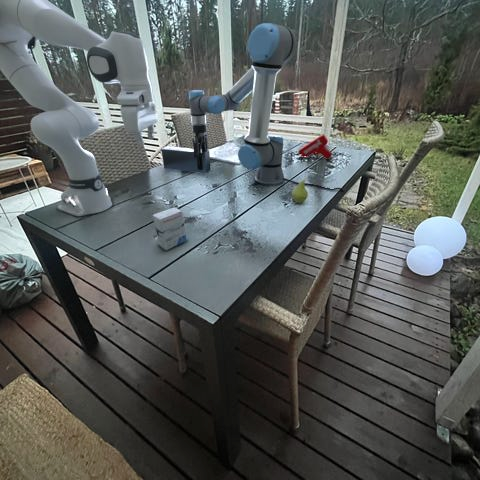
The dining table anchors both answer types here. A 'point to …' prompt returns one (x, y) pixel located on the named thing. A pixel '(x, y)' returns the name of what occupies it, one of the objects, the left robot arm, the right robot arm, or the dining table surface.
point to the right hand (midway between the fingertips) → (202, 167)
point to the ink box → (170, 228)
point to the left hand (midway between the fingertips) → (146, 141)
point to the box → (184, 159)
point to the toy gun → (316, 148)
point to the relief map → (226, 153)
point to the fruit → (300, 192)
